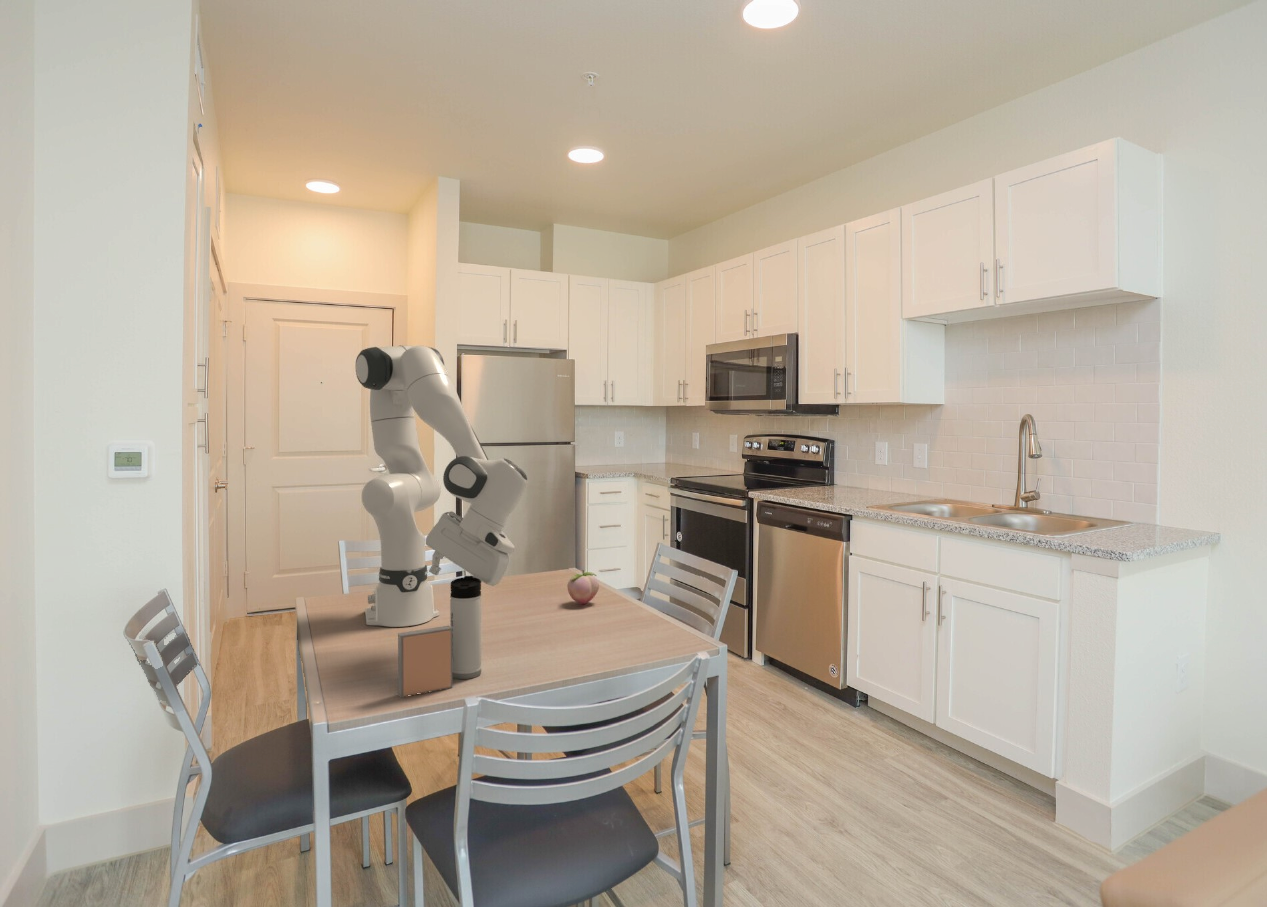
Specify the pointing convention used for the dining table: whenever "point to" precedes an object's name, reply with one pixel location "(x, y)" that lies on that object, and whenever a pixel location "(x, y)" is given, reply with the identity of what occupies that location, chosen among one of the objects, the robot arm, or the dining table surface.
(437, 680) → the tile
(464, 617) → the travel mug
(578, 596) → the decorative fruit
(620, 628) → the dining table surface
